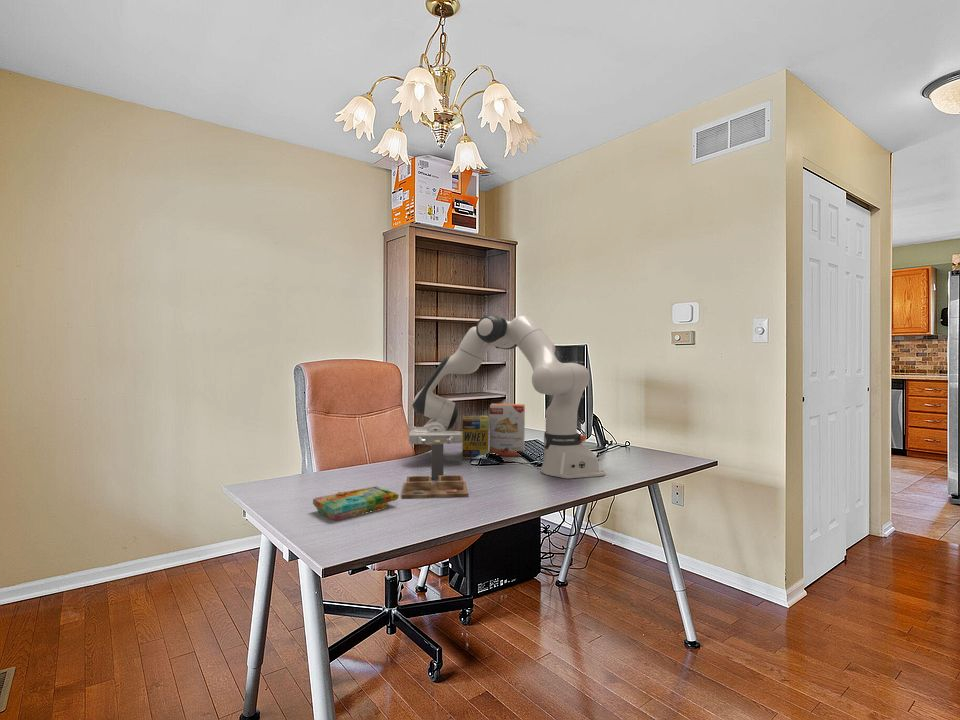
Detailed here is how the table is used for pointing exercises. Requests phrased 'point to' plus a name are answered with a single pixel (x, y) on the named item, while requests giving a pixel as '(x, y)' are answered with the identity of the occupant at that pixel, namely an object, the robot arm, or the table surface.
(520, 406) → the cracker box
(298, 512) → the table surface
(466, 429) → the protein box
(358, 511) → the puzzle game
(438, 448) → the plug
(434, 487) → the socket board
